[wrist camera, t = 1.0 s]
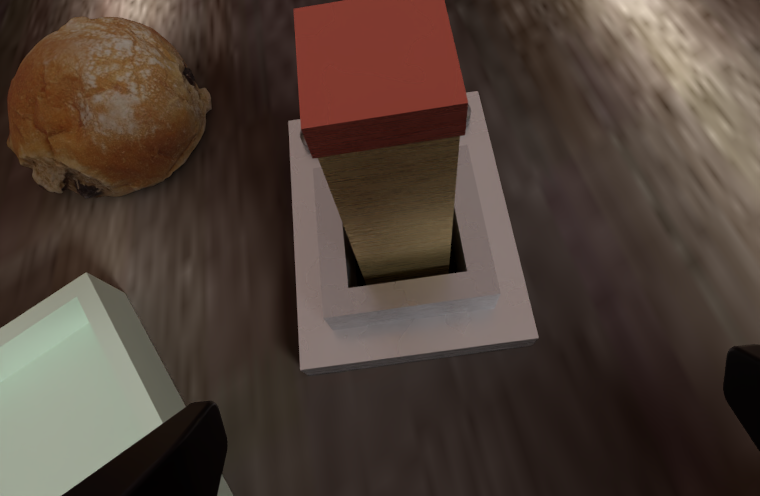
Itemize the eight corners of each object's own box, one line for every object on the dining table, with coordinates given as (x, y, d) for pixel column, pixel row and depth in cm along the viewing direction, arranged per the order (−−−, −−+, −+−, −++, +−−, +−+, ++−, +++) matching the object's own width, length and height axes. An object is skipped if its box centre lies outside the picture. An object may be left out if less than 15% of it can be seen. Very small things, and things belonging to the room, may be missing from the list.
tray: (237, 503, 20) (207, 511, 18) (-25, 709, 18) (-105, 752, 16) (125, 292, 25) (86, 272, 22) (-98, 442, 23) (-170, 439, 20)
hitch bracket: (532, 345, 22) (549, 326, 18) (308, 375, 22) (287, 361, 19) (475, 109, 27) (481, 62, 24) (295, 137, 27) (277, 95, 24)
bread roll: (239, 189, 31) (245, 79, 25) (55, 248, 25) (5, 125, 19) (170, 94, 34) (160, -22, 28) (-4, 128, 29) (-63, -8, 23)
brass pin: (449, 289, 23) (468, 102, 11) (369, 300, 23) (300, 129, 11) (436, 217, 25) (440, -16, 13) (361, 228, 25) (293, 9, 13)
